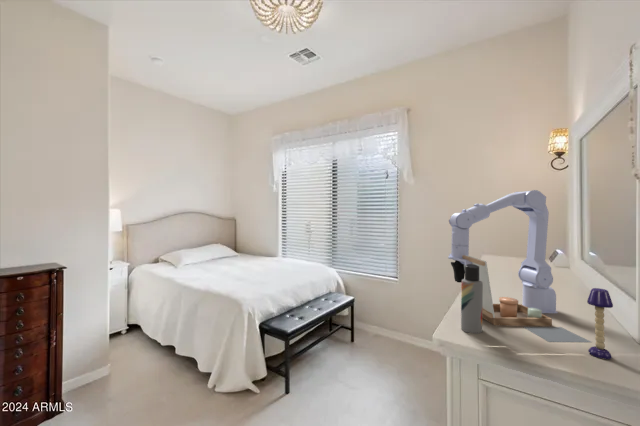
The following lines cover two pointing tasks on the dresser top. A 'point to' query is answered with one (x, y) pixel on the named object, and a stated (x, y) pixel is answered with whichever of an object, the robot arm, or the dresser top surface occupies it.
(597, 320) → the toy lamp
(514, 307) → the terracotta pot
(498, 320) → the wooden tray
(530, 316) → the pale green egg
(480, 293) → the lotion bottle
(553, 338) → the mat
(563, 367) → the dresser top surface
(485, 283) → the lid
